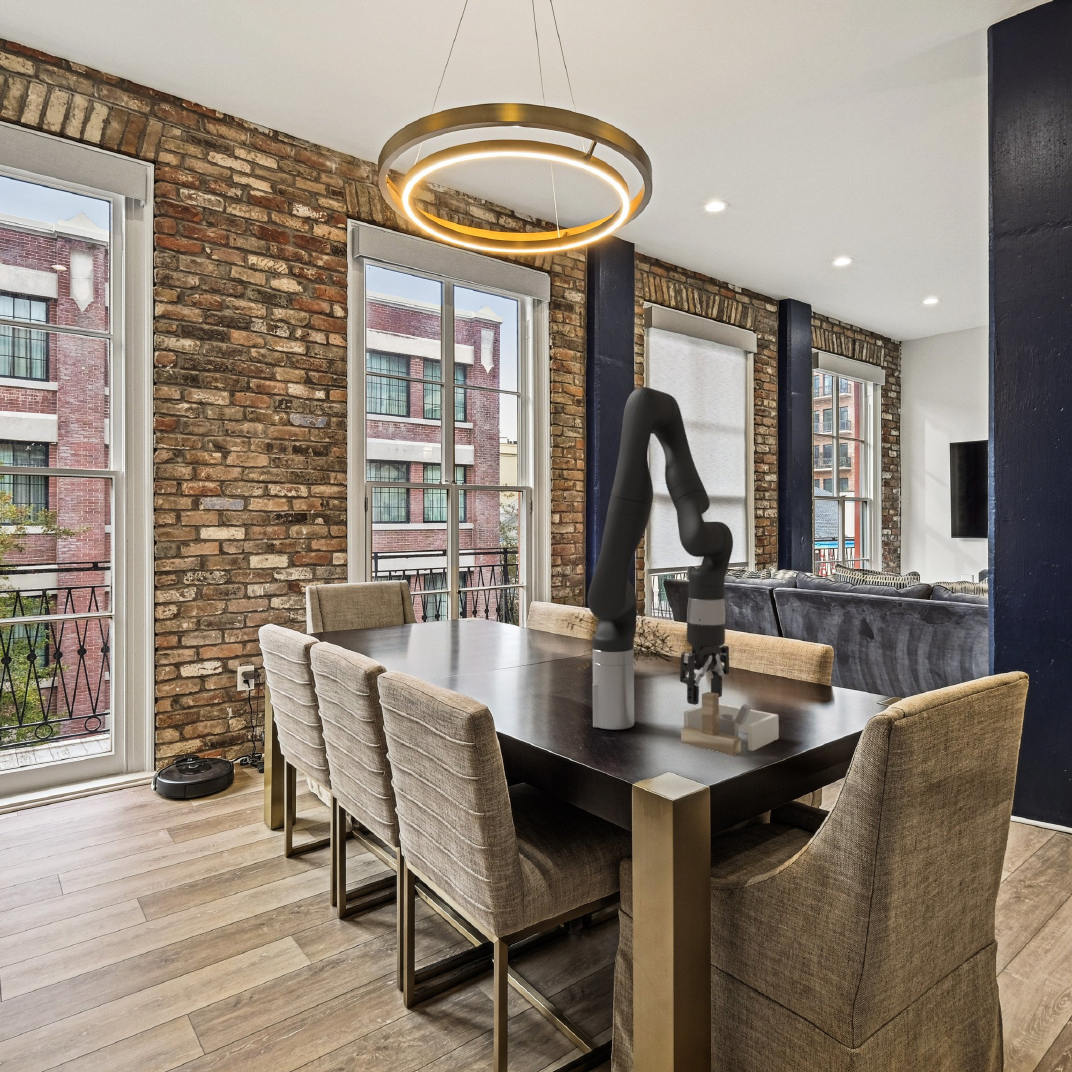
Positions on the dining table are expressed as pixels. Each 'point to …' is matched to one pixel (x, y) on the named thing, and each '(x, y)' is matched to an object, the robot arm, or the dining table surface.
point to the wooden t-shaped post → (710, 729)
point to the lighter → (733, 721)
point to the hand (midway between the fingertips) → (704, 700)
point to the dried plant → (634, 638)
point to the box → (756, 724)
